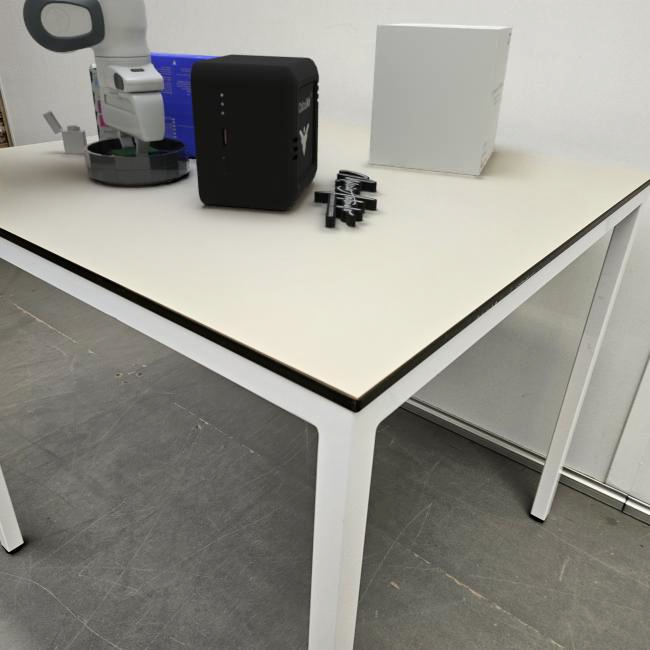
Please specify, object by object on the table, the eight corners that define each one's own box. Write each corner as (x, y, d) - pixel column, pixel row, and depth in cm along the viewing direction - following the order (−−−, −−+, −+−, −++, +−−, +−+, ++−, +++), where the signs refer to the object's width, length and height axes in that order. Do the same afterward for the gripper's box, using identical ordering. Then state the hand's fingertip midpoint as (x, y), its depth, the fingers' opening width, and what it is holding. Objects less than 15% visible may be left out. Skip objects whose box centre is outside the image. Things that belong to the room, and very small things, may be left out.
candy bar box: (128, 160, 116) (117, 68, 109) (101, 161, 115) (87, 68, 107) (126, 148, 126) (115, 62, 118) (101, 149, 124) (88, 62, 116)
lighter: (88, 151, 122) (82, 110, 118) (86, 153, 120) (79, 111, 116) (52, 151, 121) (44, 110, 117) (49, 153, 119) (41, 111, 116)
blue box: (287, 161, 119) (286, 59, 110) (264, 170, 112) (261, 62, 103) (136, 139, 134) (125, 48, 125) (108, 145, 127) (95, 50, 119)
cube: (478, 175, 112) (500, 29, 101) (368, 163, 118) (376, 24, 107) (493, 150, 133) (512, 26, 122) (399, 141, 139) (408, 23, 128)
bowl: (109, 193, 96) (104, 161, 94) (75, 171, 108) (70, 142, 106) (206, 179, 105) (204, 149, 103) (165, 159, 117) (162, 133, 115)
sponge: (123, 174, 104) (120, 155, 102) (113, 168, 107) (110, 150, 105) (161, 169, 107) (159, 150, 106) (151, 163, 111) (149, 146, 109)
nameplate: (319, 169, 107) (375, 170, 107) (318, 177, 108) (374, 179, 108) (309, 216, 83) (382, 218, 83) (309, 226, 84) (381, 229, 83)
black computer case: (293, 216, 88) (294, 67, 78) (198, 208, 90) (188, 62, 81) (319, 181, 105) (322, 57, 96) (239, 175, 108) (234, 53, 98)
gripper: (86, 70, 105) (98, 150, 112) (128, 81, 91) (140, 173, 98) (121, 68, 109) (131, 146, 115) (168, 79, 94) (176, 168, 101)
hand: (136, 159), depth 106 cm, fingers closed on sponge, 4 cm apart
